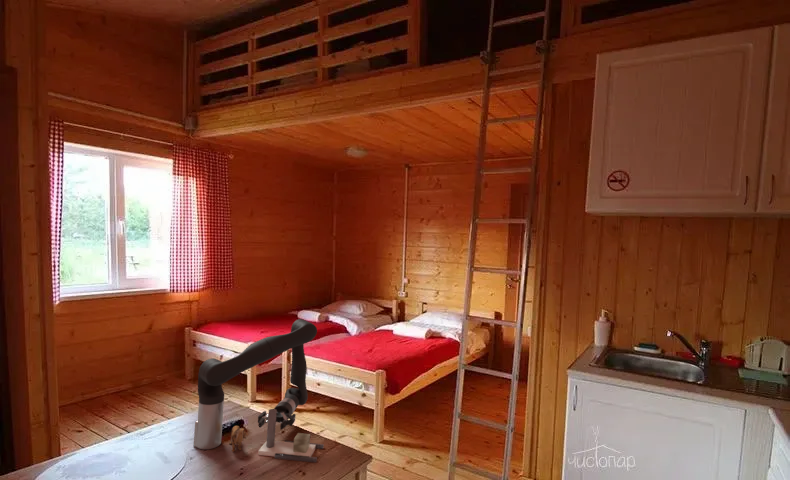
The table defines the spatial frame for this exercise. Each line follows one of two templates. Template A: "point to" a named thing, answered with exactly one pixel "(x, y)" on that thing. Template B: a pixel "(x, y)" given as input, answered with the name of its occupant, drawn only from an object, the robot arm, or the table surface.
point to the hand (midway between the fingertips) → (270, 426)
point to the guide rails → (299, 458)
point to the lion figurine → (237, 437)
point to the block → (301, 442)
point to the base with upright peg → (278, 446)
